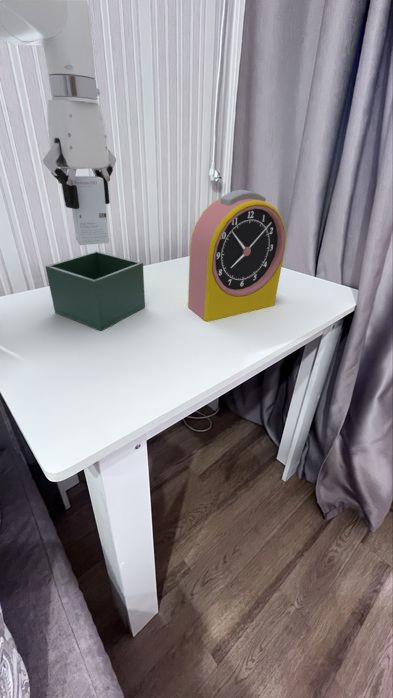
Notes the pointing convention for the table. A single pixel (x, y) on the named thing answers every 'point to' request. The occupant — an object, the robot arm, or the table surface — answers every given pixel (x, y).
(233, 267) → the alarm clock
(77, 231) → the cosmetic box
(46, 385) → the table surface
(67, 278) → the bin
